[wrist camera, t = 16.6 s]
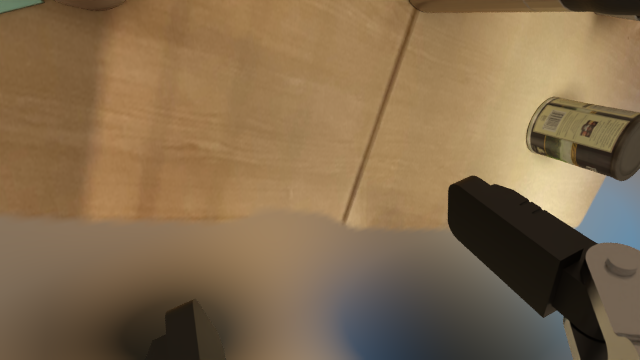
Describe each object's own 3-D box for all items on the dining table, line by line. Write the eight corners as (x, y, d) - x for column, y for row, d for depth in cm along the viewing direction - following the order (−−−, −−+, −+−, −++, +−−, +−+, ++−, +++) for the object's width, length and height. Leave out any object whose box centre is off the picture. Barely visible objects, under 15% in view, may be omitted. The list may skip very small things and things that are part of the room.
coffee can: (554, 149, 69) (641, 176, 57) (519, 155, 64) (607, 186, 53) (571, 94, 65) (669, 112, 53) (536, 97, 60) (634, 116, 49)
